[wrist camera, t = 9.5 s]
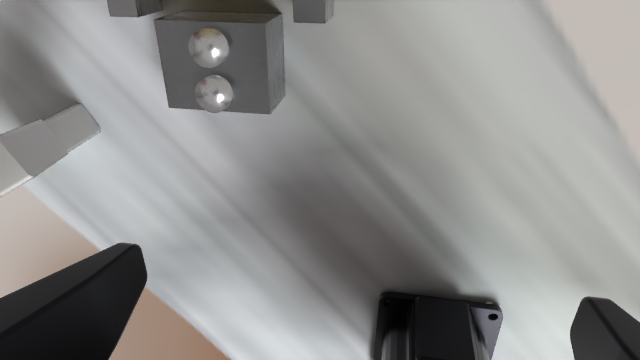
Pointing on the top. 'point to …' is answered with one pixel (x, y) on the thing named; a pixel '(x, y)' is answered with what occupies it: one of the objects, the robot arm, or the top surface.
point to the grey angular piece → (42, 145)
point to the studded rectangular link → (223, 54)
